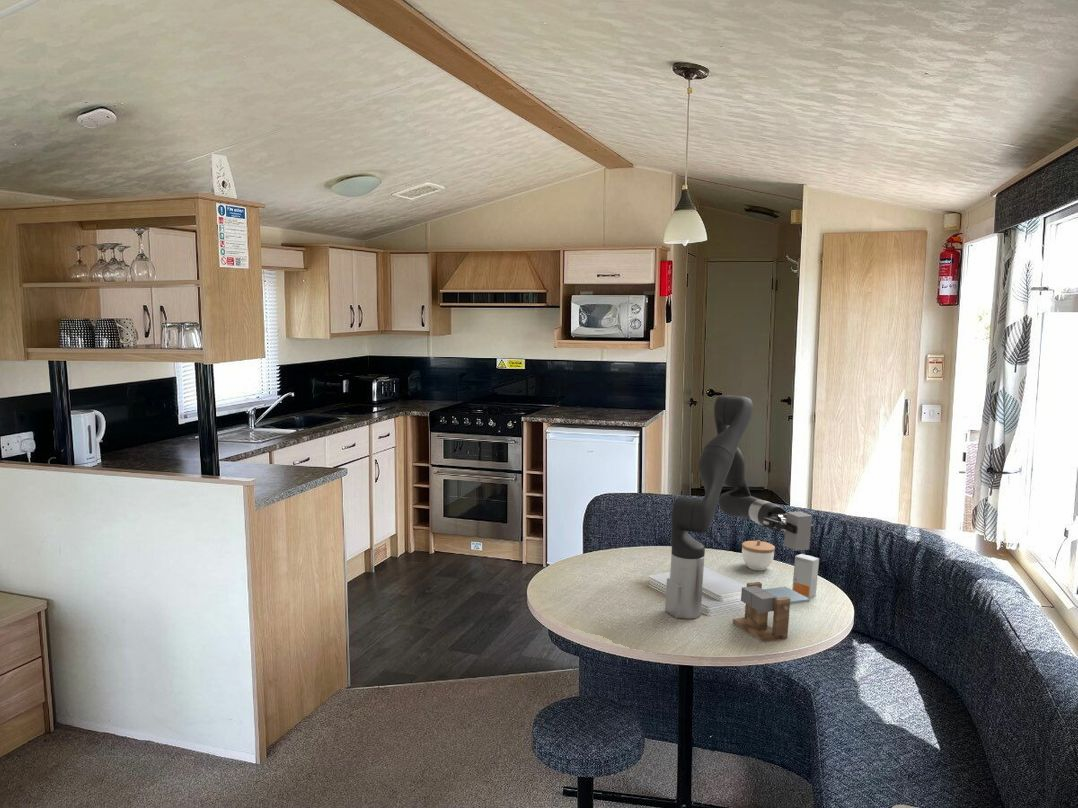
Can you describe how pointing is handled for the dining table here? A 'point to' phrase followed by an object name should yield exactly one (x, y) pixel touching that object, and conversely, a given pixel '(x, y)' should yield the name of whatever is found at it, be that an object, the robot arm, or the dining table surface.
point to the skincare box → (805, 575)
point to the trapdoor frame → (758, 621)
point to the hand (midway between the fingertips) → (804, 529)
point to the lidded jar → (757, 554)
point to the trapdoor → (769, 597)
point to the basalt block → (803, 534)
